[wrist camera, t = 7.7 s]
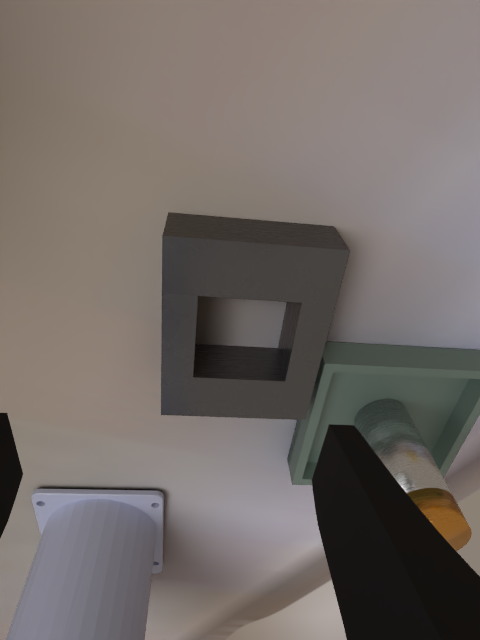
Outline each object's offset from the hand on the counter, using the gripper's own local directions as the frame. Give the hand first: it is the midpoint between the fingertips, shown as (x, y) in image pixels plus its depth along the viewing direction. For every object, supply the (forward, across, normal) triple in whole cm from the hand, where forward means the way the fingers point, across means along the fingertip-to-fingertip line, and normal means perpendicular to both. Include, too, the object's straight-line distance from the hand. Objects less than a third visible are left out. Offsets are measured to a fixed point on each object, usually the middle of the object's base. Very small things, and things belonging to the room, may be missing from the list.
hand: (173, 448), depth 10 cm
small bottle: (+10, -11, +9) cm, 17 cm away
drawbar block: (+10, -2, +2) cm, 11 cm away
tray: (+10, -11, +8) cm, 17 cm away
